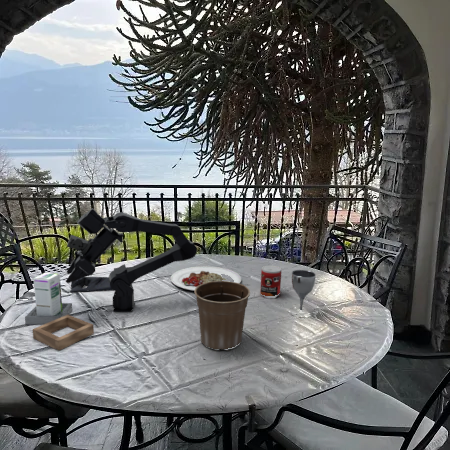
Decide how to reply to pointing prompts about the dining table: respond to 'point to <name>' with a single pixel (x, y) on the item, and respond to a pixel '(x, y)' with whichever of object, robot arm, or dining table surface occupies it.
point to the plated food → (201, 276)
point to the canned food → (270, 280)
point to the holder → (35, 319)
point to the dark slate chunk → (91, 284)
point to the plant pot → (221, 313)
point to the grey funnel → (303, 283)
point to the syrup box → (48, 294)
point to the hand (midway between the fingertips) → (67, 277)
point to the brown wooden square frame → (64, 341)
